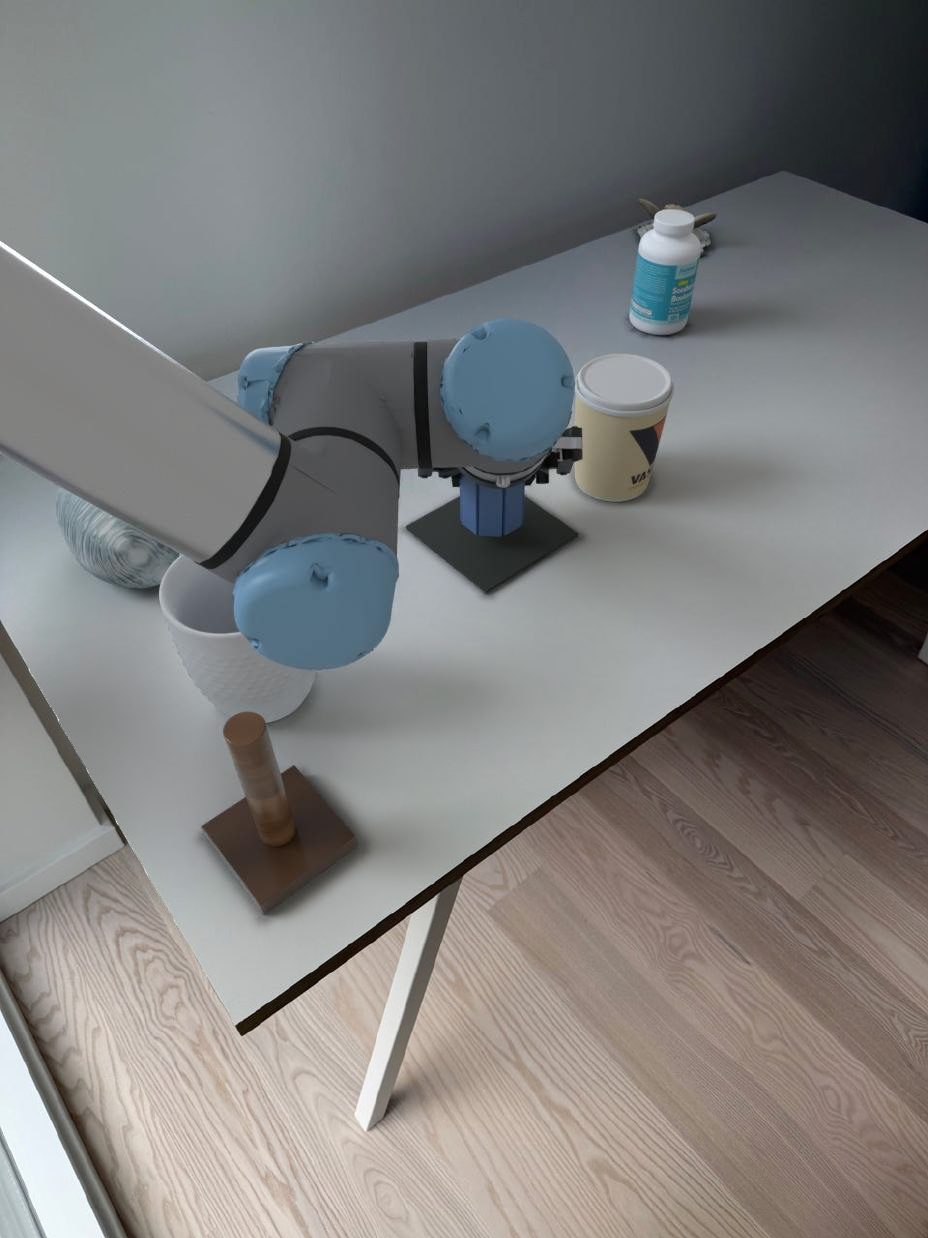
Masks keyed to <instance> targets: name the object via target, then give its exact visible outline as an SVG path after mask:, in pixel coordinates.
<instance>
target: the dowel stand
mask: <svg viewBox="0 0 928 1238" xmlns="http://www.w3.org/2000/svg"><path fill="white" fill-rule="evenodd" d="M222 734H223V738H224V741H225V743H226V746H227V749H228V752H229V755H230V757H231V760H232V763H233V767H234V768H235V772H236V774H237V777H238V780H239V782H240V785H241V789H242V792H243V795H244V796H245V797H243V798H241V799H240V800H238V801H237V802H236V803H234V804H233V805H231V806H229V807H228V808H227V809H225V810H223V811H222V812H221V813H218V814H217V815H215V816H214V817H213V818H211V819H210V820H208V821H207V822H205V823H204V824H202V825H201V826H200V827H201V830H202V832H203V835H204V837H205V838H206V840H207V841H208V842H209V844H210V845H211V847H213V849H214V851H215V852H216V854H217V855H218V856H219V857H220V859H221V860H222V862H223V863H224V864H225V865H226V867H227V868H228V869H229V871H230V872H231V873H232V875H233V876H234V878H235V879H236V880H237V882H238V883H239V884H240V886H241V887H242V889H243V890H244V891H245V892H246V895H248V897H249V898H250V899H251V900H252V902H253V904H254V905H255V906H256V907H257V909H258V911H260V913H261V914H262V915H263V916H265V915H266V914H267V913H269V912H271V910H273V909H274V908H276V907H277V906H278V905H279V904H281V903H282V902H284V901H285V900H287V899H288V898H289V897H291V896H292V895H293V894H294V893H296V892H298V891H299V890H300V889H301V888H303V887H304V886H305V885H307V884H308V883H309V882H311V881H312V880H313V879H315V878H317V877H318V876H319V875H321V874H322V873H323V872H325V871H326V870H328V868H330V867H331V866H333V865H334V864H336V863H337V862H338V861H340V860H341V859H342V858H344V857H345V856H347V854H350V853H351V852H352V851H353V850H355V849H356V848H357V847H358V841H357V836H356V834H355V833H354V832H353V831H352V830H351V828H349V826H348V825H347V824H346V823H345V822H344V820H343V819H342V818H341V817H340V816H339V815H338V814H337V812H335V810H334V809H333V808H332V807H331V805H330V804H329V803H328V802H327V801H326V800H325V799H324V797H323V796H322V795H321V793H320V792H318V791H317V790H316V788H315V787H314V786H313V785H312V784H311V783H310V781H309V780H308V779H307V778H306V777H305V775H304V774H303V773H302V772H301V771H300V769H298V767H296V765H295V764H294V765H292V766H290V767H288V768H287V769H285V771H283V772H281V771H280V767H279V763H278V761H277V757H276V753H275V749H274V747H273V743H272V740H271V737H270V736H271V735H270V733H269V730H268V726H267V723H265V720H264V718H263V717H262V716H261V715H259V714H258V713H255V712H250V711H246V712H240V713H238V714H235V715H234V716H232V717H231V716H230V717H229V718H228V719H227V720H226V722H225V723H224V726H223V728H222Z"/></svg>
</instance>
